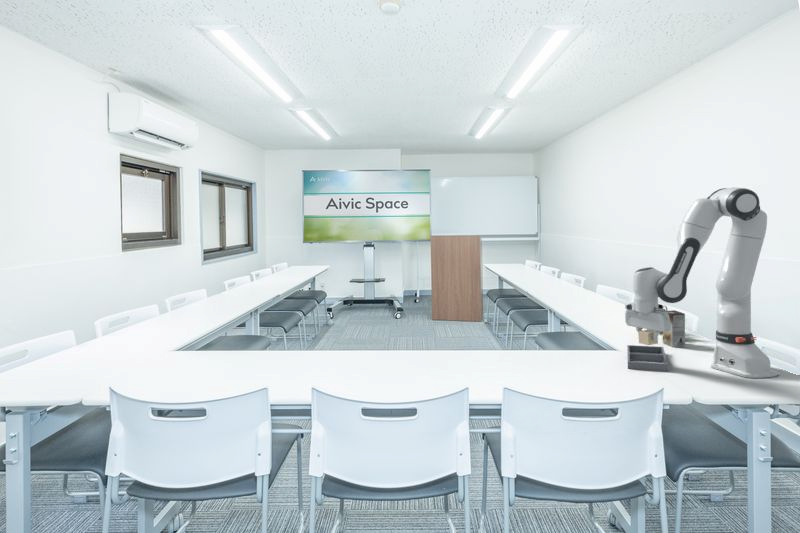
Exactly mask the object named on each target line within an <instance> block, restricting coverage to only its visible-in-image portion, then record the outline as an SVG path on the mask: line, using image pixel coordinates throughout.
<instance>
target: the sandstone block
mask: <svg viewBox="0 0 800 533" xmlns="http://www.w3.org/2000/svg"><path fill="white" fill-rule="evenodd" d="M637 333H638V344H641V345H644V346H652V345H653V346H654V345H657V344H659V339H658V340H657V341H653V340H652V338H651V336H653V335H654V333H653V331H651V330H647V329H644V330H642V331H638V332H637Z"/></svg>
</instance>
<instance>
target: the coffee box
mask: <svg viewBox="0 0 800 533" xmlns="http://www.w3.org/2000/svg"><path fill="white" fill-rule="evenodd" d="M665 312H666V311H665ZM667 312H668V314H669V318H670V324H671V329H670V331H667V332H663V334H662V344H665V345H667V346H669V347H671V348H683V347H684V348H685V347H686V323H685V322H686V313H684V312H680V311H678V310H667Z"/></svg>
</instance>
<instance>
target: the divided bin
mask: <svg viewBox="0 0 800 533" xmlns="http://www.w3.org/2000/svg"><path fill="white" fill-rule="evenodd" d="M626 348H627V350H626V351H627V370H629V369H630V370H641V371H644V370H645V371H654V372H655V371H656V372H669V363H668V360H667V354H666V352H665V349H664V346H654V345H653V346H652V345H635V344H634V345H633V344H632V345H631V344H630V345H629V344H627V346H626Z"/></svg>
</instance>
